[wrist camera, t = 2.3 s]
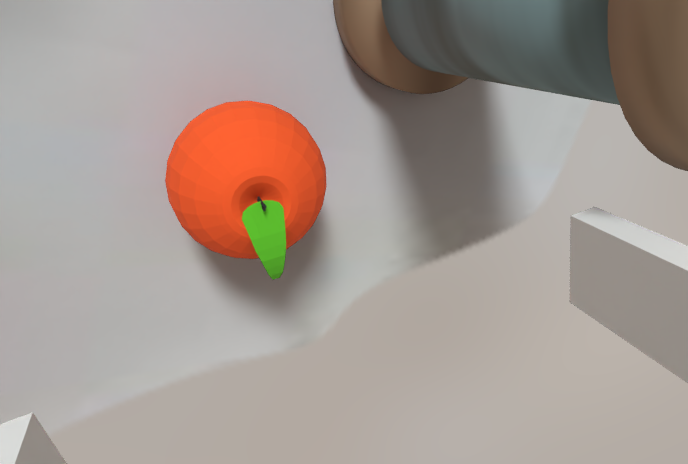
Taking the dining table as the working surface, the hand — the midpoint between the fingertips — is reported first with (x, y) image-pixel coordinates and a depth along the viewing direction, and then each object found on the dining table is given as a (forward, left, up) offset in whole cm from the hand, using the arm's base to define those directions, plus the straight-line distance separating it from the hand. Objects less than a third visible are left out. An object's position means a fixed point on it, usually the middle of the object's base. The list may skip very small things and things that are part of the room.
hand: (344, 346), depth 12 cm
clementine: (0, 0, -16) cm, 16 cm away
